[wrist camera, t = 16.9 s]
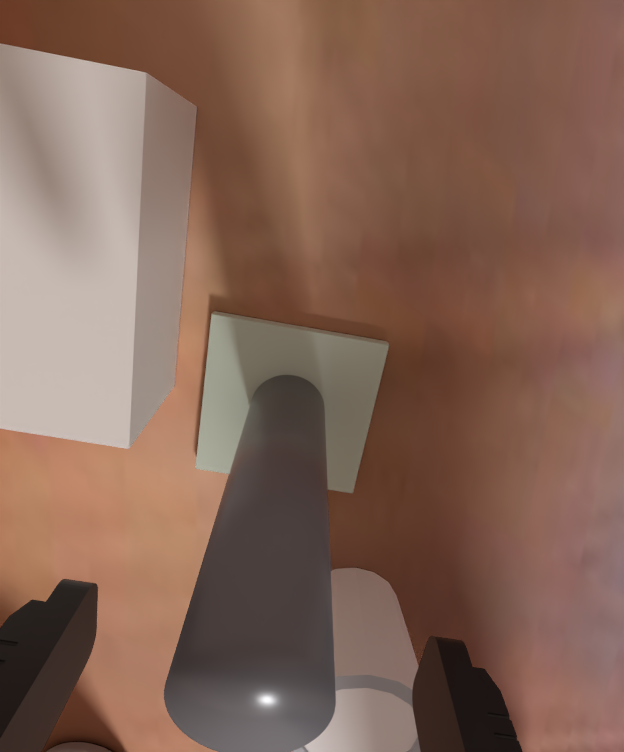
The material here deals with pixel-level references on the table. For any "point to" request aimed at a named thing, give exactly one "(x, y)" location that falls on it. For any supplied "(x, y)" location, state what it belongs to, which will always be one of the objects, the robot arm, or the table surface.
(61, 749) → the soda can
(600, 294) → the table surface
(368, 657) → the white cylindrical tub
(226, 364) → the pad
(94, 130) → the box
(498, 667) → the table surface
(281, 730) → the rod
